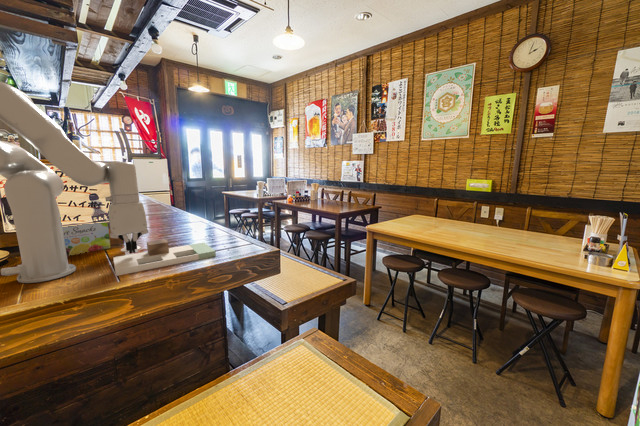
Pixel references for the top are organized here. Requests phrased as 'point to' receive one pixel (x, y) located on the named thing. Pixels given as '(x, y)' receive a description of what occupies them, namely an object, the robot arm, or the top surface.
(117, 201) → the robot arm
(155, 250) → the walnut block
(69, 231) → the snack box
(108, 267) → the top surface
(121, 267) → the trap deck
